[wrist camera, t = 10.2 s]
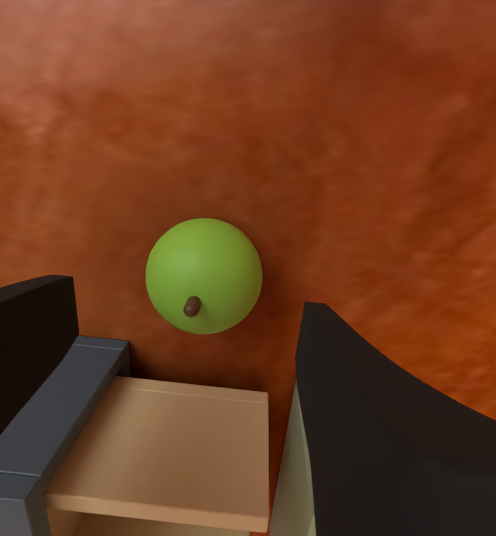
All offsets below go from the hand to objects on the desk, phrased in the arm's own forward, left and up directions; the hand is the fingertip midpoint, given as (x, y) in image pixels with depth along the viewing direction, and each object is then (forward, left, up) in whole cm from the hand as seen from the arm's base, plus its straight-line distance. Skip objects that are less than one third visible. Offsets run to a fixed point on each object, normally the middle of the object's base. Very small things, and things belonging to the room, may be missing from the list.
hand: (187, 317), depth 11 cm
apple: (0, 0, -6) cm, 6 cm away
